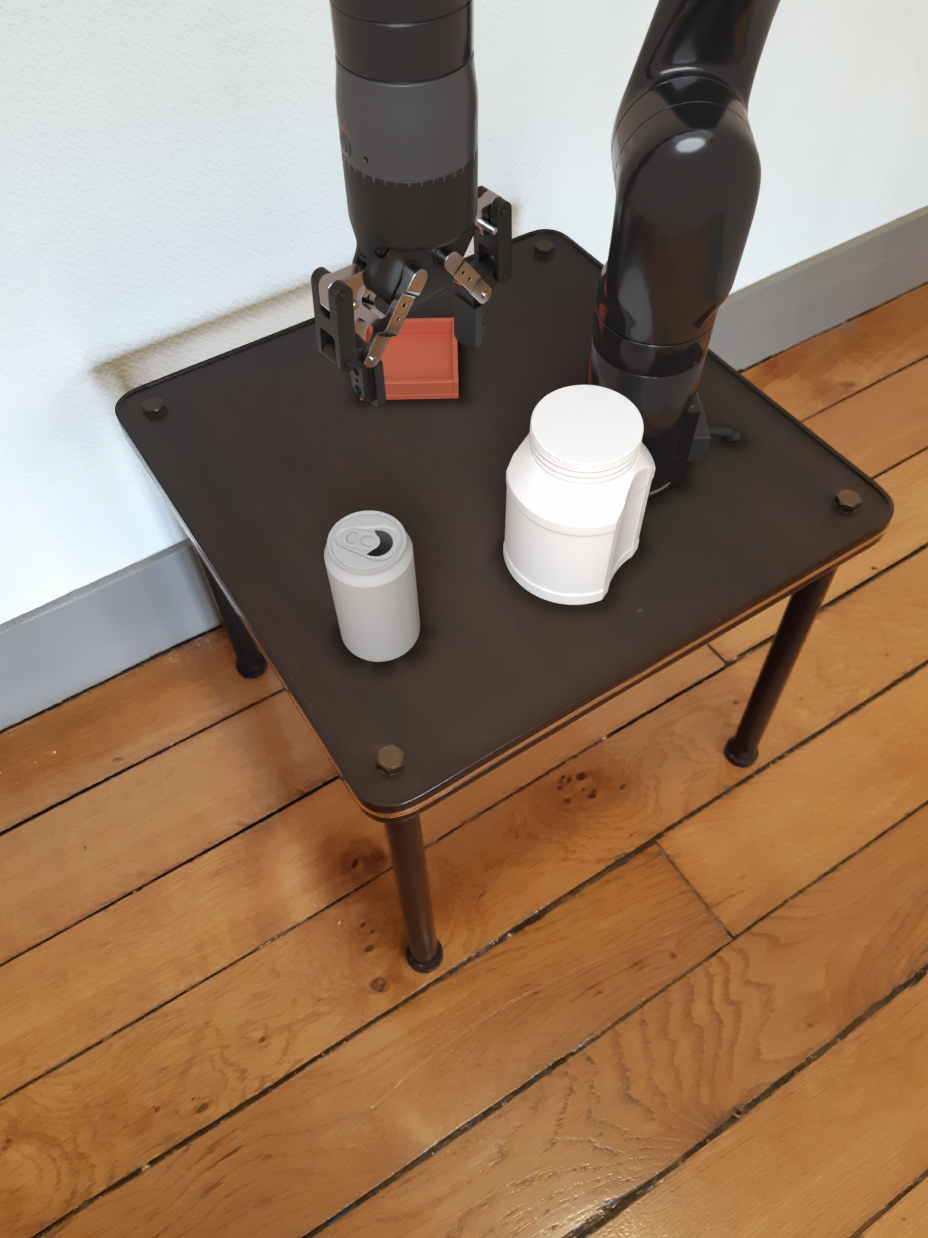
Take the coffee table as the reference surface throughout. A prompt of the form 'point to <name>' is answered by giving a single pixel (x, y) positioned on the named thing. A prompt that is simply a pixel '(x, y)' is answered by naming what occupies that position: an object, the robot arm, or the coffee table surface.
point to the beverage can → (373, 585)
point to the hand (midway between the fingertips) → (421, 370)
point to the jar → (576, 494)
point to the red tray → (421, 360)
